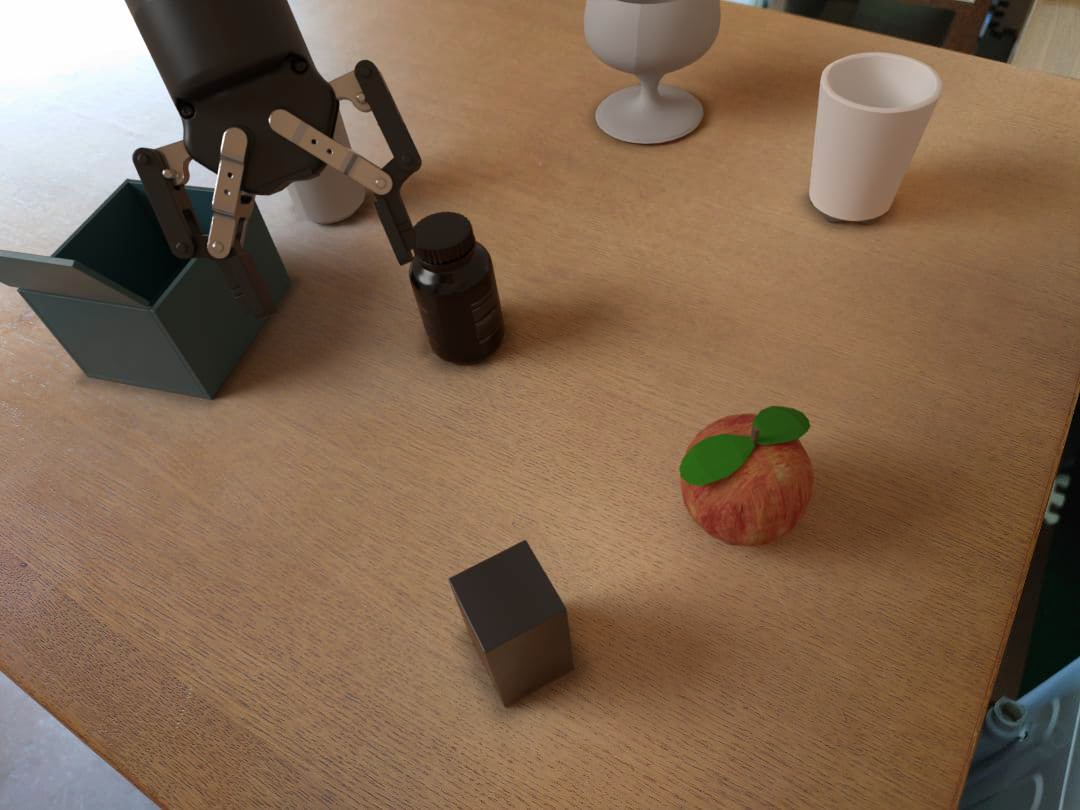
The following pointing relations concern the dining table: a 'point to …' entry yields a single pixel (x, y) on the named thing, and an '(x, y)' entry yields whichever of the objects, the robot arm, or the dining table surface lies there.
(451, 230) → the supplement bottle
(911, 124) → the cup
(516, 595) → the block
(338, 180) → the can
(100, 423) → the dining table surface
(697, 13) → the chalice
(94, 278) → the flap
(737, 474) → the fruit
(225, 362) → the carton
